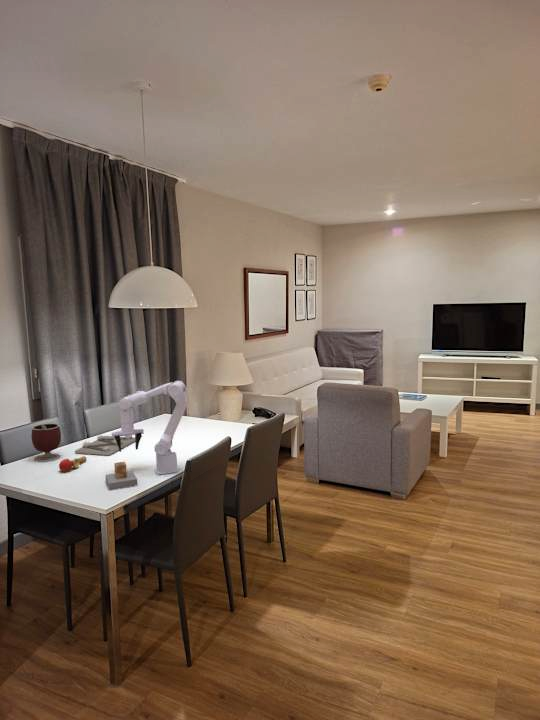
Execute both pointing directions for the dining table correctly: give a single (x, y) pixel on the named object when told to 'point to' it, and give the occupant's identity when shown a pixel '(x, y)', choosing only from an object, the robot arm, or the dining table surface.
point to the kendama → (71, 463)
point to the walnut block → (120, 470)
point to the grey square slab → (121, 481)
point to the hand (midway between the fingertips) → (128, 450)
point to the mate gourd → (46, 441)
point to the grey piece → (104, 445)
